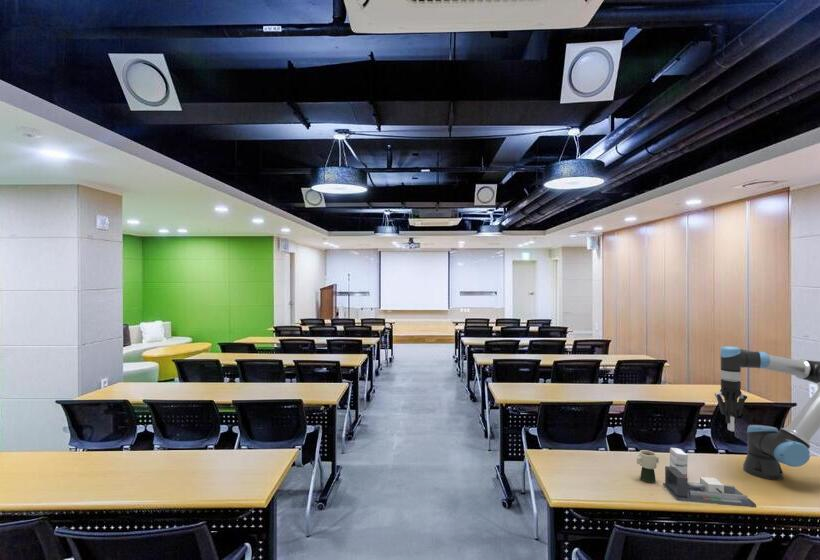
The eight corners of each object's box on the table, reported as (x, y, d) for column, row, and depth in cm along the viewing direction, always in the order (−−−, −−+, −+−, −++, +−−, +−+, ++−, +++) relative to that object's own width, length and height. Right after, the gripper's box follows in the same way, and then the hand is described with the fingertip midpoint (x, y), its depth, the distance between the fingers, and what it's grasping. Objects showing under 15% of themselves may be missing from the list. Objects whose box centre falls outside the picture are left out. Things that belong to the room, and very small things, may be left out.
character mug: (653, 476, 202) (653, 449, 202) (664, 483, 195) (663, 455, 195) (632, 477, 201) (632, 450, 201) (642, 484, 194) (642, 456, 194)
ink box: (688, 480, 199) (688, 454, 200) (676, 478, 200) (676, 453, 201) (680, 472, 208) (680, 448, 208) (669, 471, 209) (668, 447, 209)
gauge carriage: (714, 489, 186) (714, 478, 187) (729, 501, 176) (728, 489, 176) (685, 487, 188) (685, 475, 189) (697, 498, 178) (697, 486, 178)
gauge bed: (735, 491, 188) (735, 470, 188) (756, 507, 174) (755, 484, 175) (663, 485, 193) (663, 465, 193) (677, 500, 179) (677, 478, 180)
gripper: (741, 378, 201) (741, 428, 200) (711, 377, 203) (711, 426, 202) (751, 382, 193) (751, 433, 193) (719, 380, 195) (720, 432, 195)
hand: (730, 430), depth 197 cm, fingers closed
